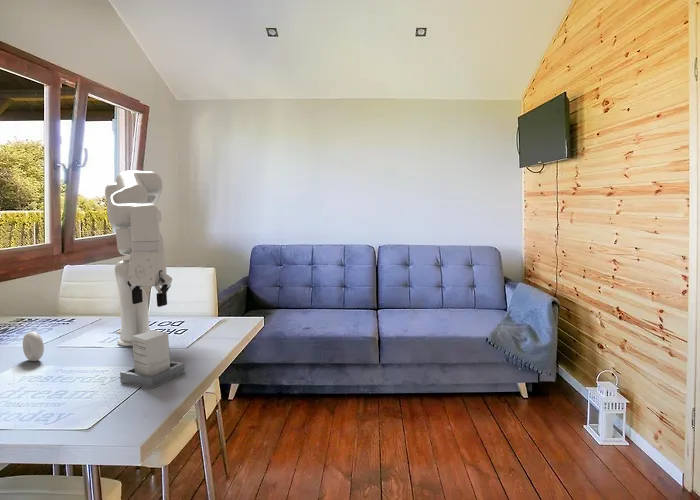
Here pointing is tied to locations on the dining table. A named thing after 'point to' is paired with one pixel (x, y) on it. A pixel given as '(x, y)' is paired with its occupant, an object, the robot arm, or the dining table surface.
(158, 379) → the locating frame
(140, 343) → the supplement box
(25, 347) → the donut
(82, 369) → the dining table surface
